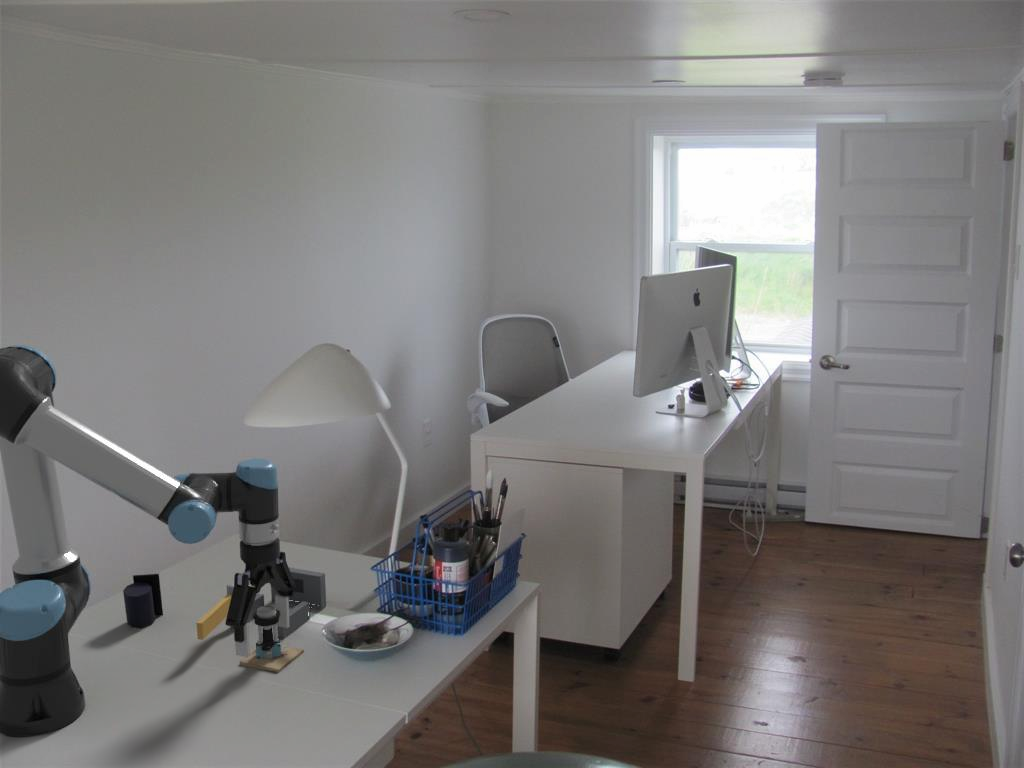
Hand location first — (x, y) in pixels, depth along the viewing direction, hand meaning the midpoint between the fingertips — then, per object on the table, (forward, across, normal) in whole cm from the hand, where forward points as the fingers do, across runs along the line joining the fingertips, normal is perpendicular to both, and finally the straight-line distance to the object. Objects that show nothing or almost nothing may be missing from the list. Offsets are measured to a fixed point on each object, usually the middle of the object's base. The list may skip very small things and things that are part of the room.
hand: (263, 640), depth 200 cm
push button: (+4, +2, 0) cm, 5 cm away
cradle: (+5, +19, +9) cm, 21 cm away
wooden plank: (0, +4, +14) cm, 15 cm away
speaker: (+5, +6, +35) cm, 36 cm away
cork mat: (+5, +2, 0) cm, 5 cm away
